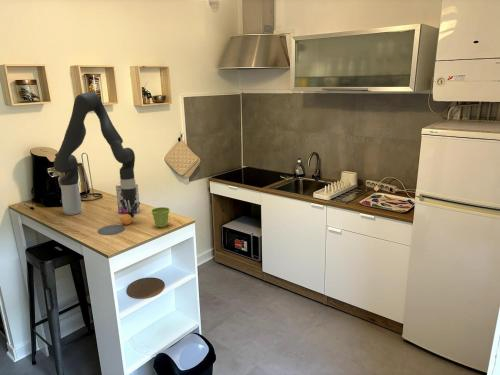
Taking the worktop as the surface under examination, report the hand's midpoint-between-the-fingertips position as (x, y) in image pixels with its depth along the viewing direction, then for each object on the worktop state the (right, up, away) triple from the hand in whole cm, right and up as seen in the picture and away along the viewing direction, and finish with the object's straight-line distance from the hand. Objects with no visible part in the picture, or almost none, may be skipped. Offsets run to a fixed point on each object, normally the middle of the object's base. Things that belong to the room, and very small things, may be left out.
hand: (131, 217), depth 202 cm
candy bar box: (-6, +2, +16) cm, 17 cm away
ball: (-2, -1, -4) cm, 4 cm away
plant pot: (+17, -4, -5) cm, 18 cm away
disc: (-7, -5, -11) cm, 14 cm away
